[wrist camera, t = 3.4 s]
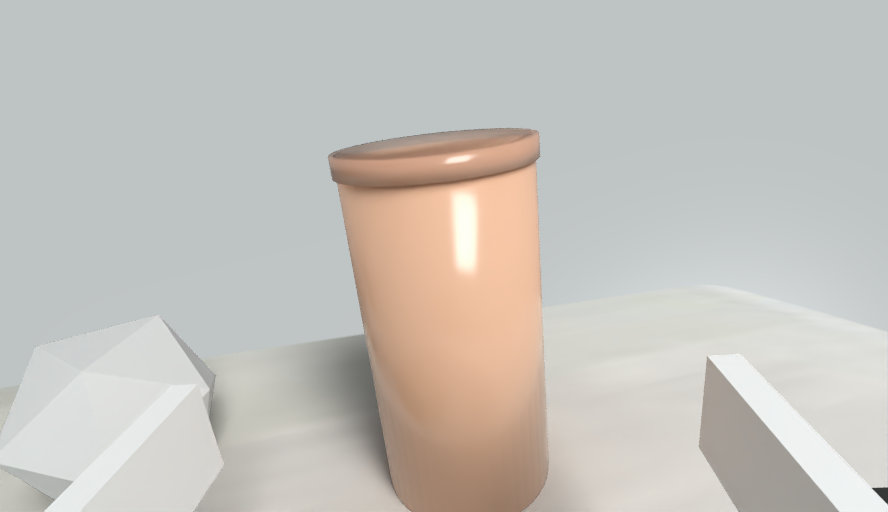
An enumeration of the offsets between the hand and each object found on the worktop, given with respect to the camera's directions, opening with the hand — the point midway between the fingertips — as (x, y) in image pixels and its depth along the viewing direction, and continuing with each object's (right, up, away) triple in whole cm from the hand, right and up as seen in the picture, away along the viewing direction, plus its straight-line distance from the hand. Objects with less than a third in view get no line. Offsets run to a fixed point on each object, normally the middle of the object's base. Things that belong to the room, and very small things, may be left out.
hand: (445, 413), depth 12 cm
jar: (+1, -6, +10) cm, 12 cm away
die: (-15, -7, +12) cm, 21 cm away
